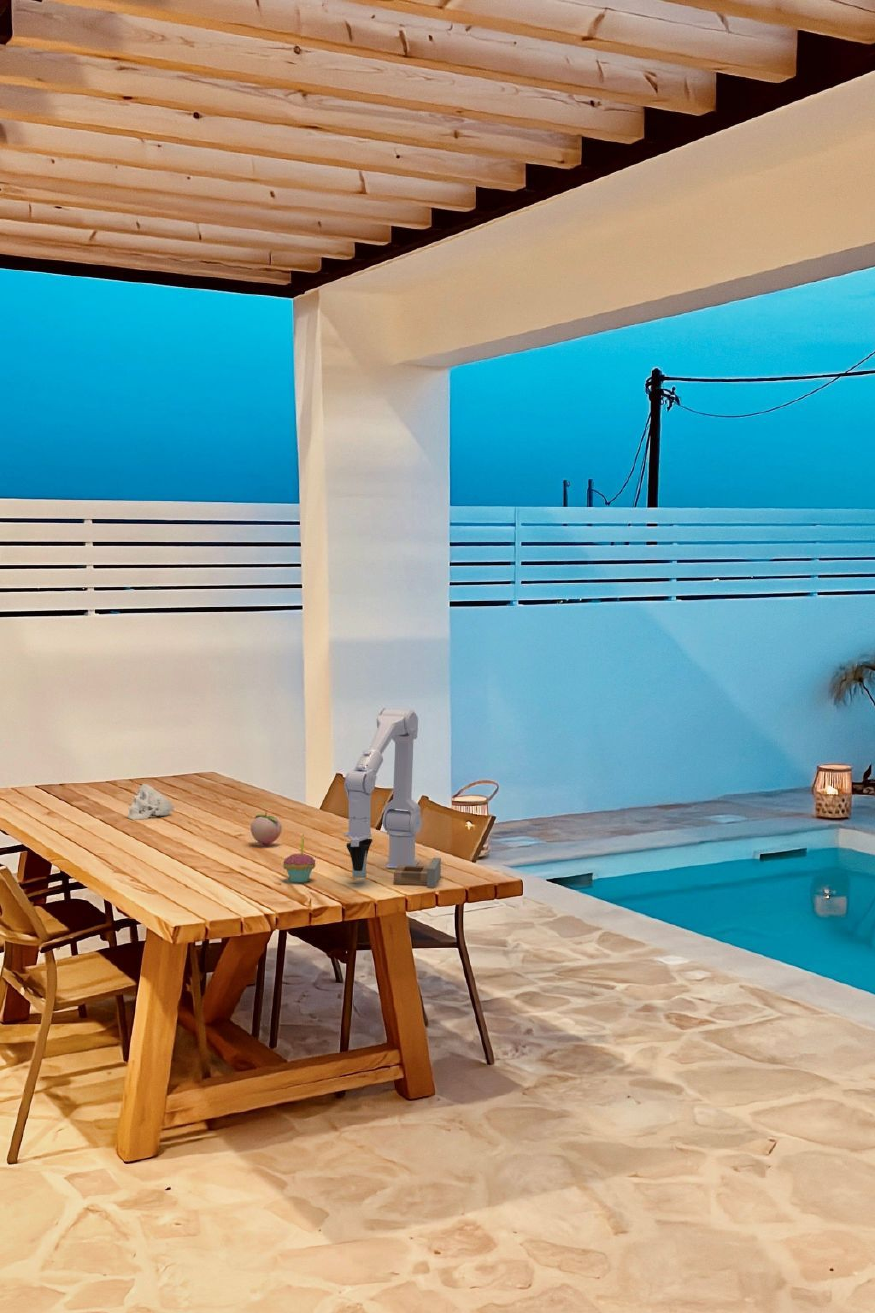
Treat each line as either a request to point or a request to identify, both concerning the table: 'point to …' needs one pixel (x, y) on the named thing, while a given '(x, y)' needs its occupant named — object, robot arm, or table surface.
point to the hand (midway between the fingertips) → (359, 868)
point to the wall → (433, 872)
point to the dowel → (360, 873)
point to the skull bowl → (149, 804)
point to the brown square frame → (410, 875)
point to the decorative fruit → (265, 829)
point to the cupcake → (299, 866)
